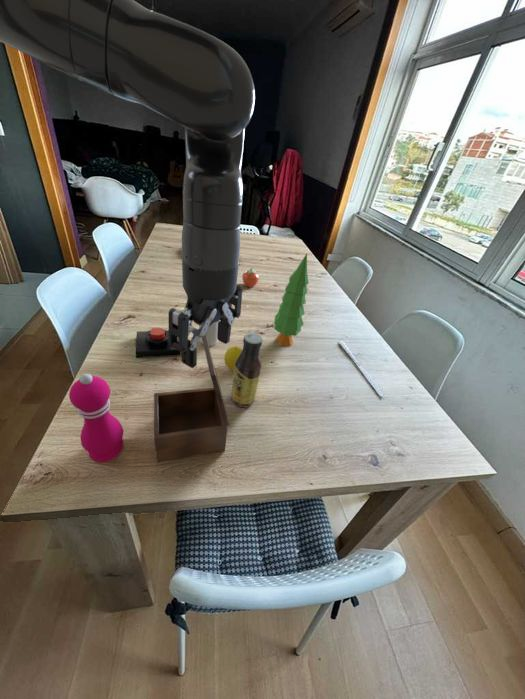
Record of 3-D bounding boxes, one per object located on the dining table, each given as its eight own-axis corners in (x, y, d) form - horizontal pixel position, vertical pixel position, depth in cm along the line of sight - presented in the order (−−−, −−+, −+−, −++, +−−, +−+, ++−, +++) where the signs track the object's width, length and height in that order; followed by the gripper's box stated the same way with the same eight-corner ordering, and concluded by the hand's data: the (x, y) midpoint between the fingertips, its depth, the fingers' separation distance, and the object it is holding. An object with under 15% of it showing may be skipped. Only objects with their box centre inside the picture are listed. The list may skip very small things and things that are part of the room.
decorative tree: (300, 338, 102) (323, 253, 84) (294, 353, 94) (318, 263, 77) (273, 330, 103) (290, 245, 86) (266, 344, 96) (283, 254, 78)
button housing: (136, 358, 82) (134, 346, 79) (137, 337, 89) (136, 326, 87) (180, 355, 85) (180, 344, 83) (178, 335, 93) (178, 325, 90)
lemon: (236, 361, 87) (239, 339, 82) (246, 372, 83) (249, 350, 79) (220, 366, 84) (221, 343, 79) (229, 378, 81) (231, 355, 76)
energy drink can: (197, 336, 94) (198, 294, 85) (216, 335, 96) (218, 294, 87) (200, 348, 89) (201, 304, 80) (220, 346, 91) (223, 304, 83)
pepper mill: (87, 437, 60) (61, 363, 48) (125, 430, 63) (110, 358, 51) (84, 469, 55) (54, 394, 43) (126, 459, 58) (109, 387, 46)
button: (150, 340, 83) (149, 335, 82) (150, 332, 86) (149, 327, 85) (165, 339, 84) (164, 334, 83) (164, 332, 87) (164, 327, 86)
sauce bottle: (228, 392, 76) (234, 328, 64) (251, 389, 78) (261, 327, 66) (233, 411, 71) (242, 346, 60) (258, 408, 73) (270, 344, 62)
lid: (210, 375, 48) (215, 374, 48) (201, 335, 57) (205, 334, 57) (225, 427, 57) (229, 425, 57) (216, 385, 66) (219, 384, 66)
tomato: (260, 285, 132) (263, 268, 127) (252, 290, 127) (255, 273, 122) (246, 280, 134) (248, 263, 130) (238, 285, 129) (239, 268, 124)
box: (157, 462, 58) (154, 438, 53) (156, 417, 67) (153, 393, 62) (224, 451, 62) (227, 428, 58) (216, 410, 71) (217, 386, 66)
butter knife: (345, 340, 104) (337, 340, 103) (387, 396, 83) (378, 396, 83) (344, 341, 104) (337, 341, 103) (386, 397, 84) (377, 398, 83)
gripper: (221, 240, 46) (216, 327, 55) (148, 260, 35) (158, 363, 45) (262, 254, 43) (249, 343, 53) (196, 281, 33) (195, 385, 42)
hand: (207, 352), depth 49 cm, fingers open, 8 cm apart
